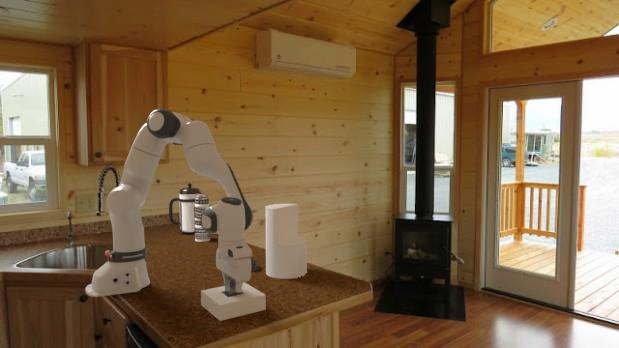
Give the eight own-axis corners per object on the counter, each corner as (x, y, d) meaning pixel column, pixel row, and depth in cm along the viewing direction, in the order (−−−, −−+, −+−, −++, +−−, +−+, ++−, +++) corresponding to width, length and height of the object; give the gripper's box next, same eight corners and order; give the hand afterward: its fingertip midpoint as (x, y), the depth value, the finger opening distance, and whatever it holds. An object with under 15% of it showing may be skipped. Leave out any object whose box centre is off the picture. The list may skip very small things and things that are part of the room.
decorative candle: (196, 238, 251) (196, 194, 249) (213, 238, 250) (212, 194, 248) (191, 241, 242) (191, 196, 240) (208, 241, 241) (207, 196, 239)
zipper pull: (240, 242, 211) (261, 254, 190) (240, 256, 212) (261, 269, 190) (222, 245, 207) (241, 257, 185) (222, 259, 207) (242, 272, 186)
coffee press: (196, 228, 276) (195, 181, 274) (207, 233, 264) (206, 183, 262) (169, 232, 265) (167, 183, 263) (180, 237, 253) (178, 185, 251)
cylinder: (257, 274, 183) (256, 207, 181) (282, 264, 198) (282, 202, 196) (291, 281, 174) (290, 211, 172) (314, 270, 188) (314, 205, 186)
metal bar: (230, 310, 144) (229, 280, 144) (225, 306, 148) (224, 277, 147) (241, 307, 147) (240, 278, 146) (236, 304, 150) (235, 275, 149)
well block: (220, 321, 136) (219, 305, 136) (201, 305, 149) (200, 290, 149) (265, 309, 145) (265, 294, 145) (244, 295, 158) (243, 281, 158)
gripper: (211, 242, 152) (211, 281, 153) (236, 255, 136) (237, 298, 137) (227, 239, 156) (228, 278, 157) (254, 252, 139) (255, 294, 140)
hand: (232, 288), depth 147 cm, fingers open, 7 cm apart
